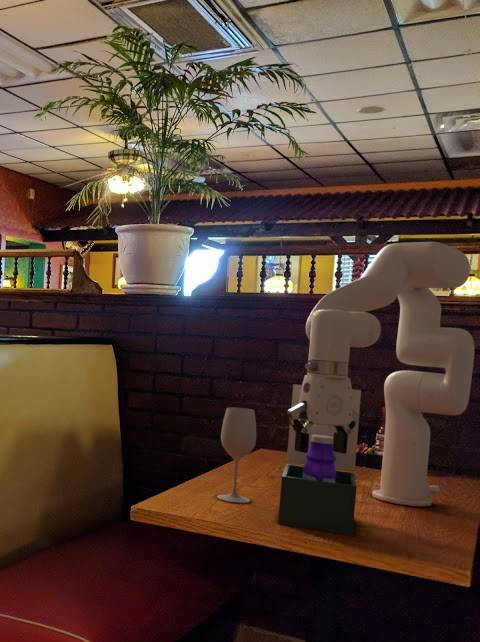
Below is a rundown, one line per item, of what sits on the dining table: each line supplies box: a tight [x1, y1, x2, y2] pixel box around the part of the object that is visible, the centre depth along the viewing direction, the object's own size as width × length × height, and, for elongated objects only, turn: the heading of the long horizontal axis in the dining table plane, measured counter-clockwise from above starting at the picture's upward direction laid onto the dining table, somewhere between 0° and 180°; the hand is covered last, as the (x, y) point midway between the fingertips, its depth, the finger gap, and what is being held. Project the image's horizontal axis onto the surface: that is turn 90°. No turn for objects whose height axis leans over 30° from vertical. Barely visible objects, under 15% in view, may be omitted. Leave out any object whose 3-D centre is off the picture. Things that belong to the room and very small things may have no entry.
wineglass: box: [216, 406, 257, 504], centre depth 172 cm, size 8×8×21 cm
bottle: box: [302, 435, 336, 483], centre depth 155 cm, size 7×6×17 cm
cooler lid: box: [286, 384, 362, 472], centre depth 165 cm, size 18×14×1 cm
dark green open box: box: [277, 463, 357, 536], centre depth 157 cm, size 17×14×10 cm
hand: (320, 452), depth 155 cm, fingers open, 9 cm apart
